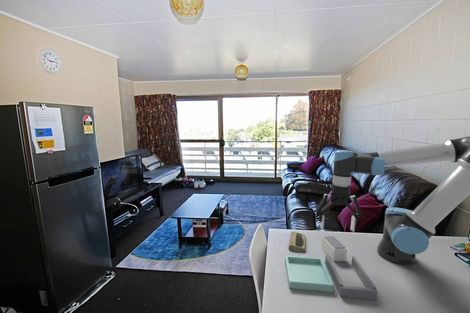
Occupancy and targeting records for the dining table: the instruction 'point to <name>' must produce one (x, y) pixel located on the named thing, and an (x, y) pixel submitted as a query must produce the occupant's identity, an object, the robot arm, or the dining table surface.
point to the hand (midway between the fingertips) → (336, 229)
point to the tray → (308, 274)
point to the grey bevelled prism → (334, 248)
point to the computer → (297, 242)
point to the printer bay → (353, 292)
